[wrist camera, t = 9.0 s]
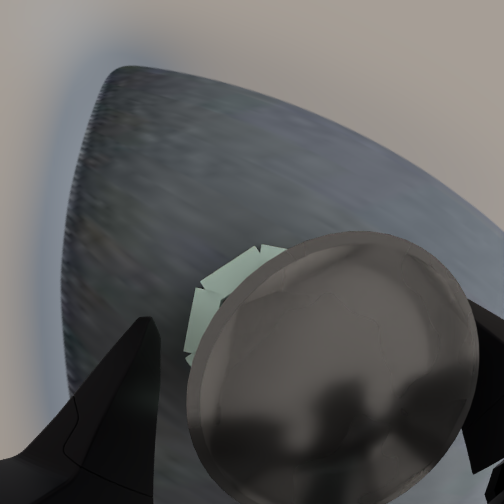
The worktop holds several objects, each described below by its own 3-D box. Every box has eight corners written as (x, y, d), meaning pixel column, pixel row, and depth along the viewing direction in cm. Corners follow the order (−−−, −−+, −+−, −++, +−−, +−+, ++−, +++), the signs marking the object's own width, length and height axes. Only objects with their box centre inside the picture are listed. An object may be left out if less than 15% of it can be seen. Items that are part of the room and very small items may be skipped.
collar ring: (378, 348, 16) (388, 350, 15) (253, 437, 15) (253, 447, 13) (294, 225, 18) (298, 216, 16) (162, 311, 16) (155, 311, 15)
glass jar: (334, 344, 16) (501, 386, 3) (264, 395, 15) (307, 551, 3) (285, 276, 17) (386, 175, 4) (213, 326, 16) (117, 362, 4)
